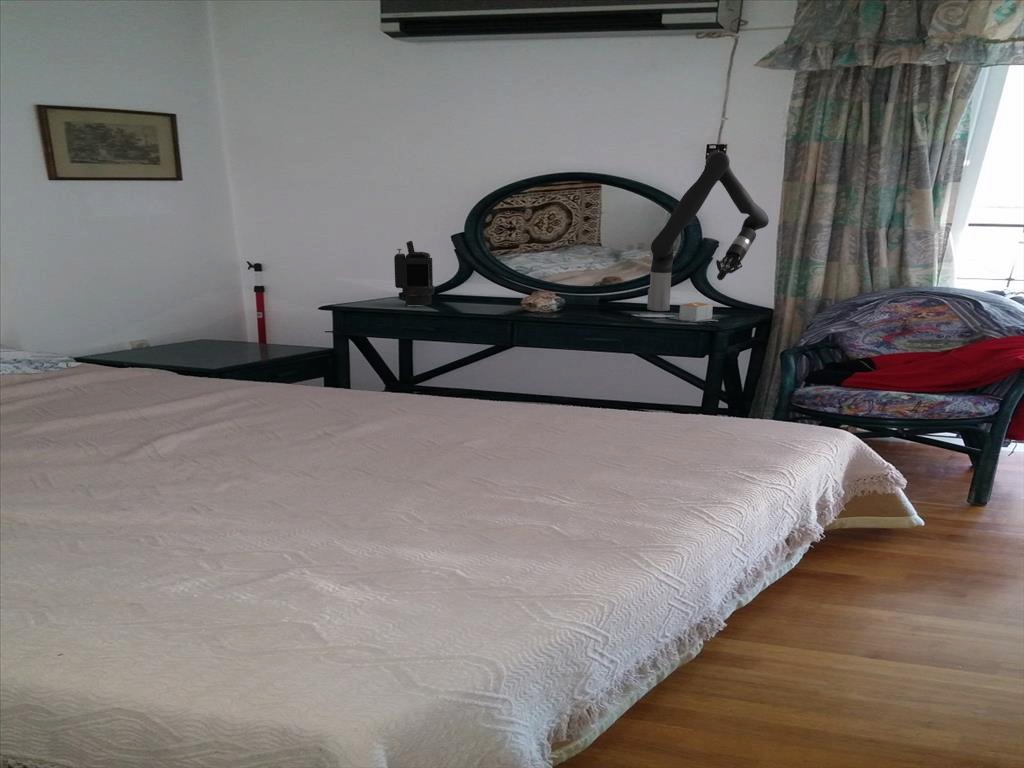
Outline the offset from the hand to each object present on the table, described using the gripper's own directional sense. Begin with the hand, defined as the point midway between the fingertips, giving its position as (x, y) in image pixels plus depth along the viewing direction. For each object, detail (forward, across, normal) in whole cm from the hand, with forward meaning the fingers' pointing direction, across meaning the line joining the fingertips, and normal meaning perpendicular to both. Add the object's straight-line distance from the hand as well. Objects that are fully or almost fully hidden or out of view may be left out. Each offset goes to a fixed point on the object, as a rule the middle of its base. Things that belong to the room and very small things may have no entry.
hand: (719, 278), depth 317 cm
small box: (+16, 0, +2) cm, 16 cm away
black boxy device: (+72, -108, -49) cm, 139 cm away
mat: (+24, 0, -1) cm, 24 cm away
